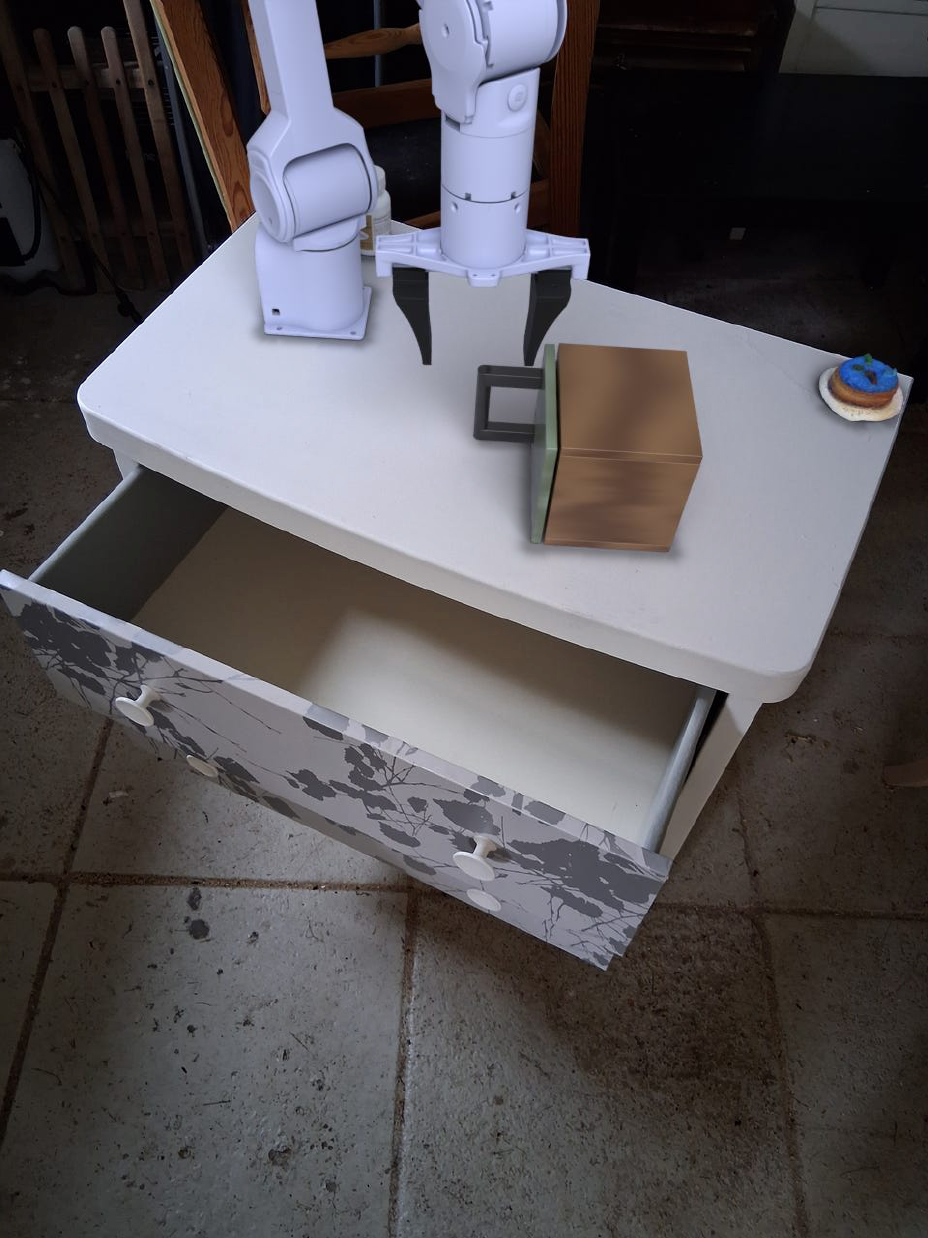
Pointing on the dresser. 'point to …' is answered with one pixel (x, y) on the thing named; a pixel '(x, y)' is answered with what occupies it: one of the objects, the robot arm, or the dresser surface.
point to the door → (524, 425)
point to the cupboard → (621, 447)
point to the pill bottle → (376, 218)
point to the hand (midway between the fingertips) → (477, 357)
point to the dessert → (862, 389)
